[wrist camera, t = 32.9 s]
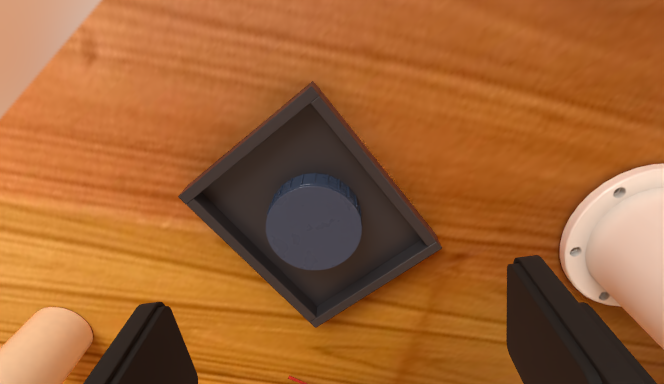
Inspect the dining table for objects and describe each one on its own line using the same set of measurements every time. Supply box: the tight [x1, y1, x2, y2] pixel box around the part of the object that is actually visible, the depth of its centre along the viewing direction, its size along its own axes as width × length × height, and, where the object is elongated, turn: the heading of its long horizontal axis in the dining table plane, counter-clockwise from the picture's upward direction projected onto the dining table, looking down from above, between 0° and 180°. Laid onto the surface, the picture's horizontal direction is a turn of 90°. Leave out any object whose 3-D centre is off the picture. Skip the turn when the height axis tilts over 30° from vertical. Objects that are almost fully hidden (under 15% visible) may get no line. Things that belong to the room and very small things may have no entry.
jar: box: [0, 307, 93, 384], centre depth 32 cm, size 6×6×11 cm
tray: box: [178, 82, 442, 328], centre depth 31 cm, size 16×13×2 cm
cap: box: [266, 173, 363, 270], centre depth 30 cm, size 7×7×2 cm
